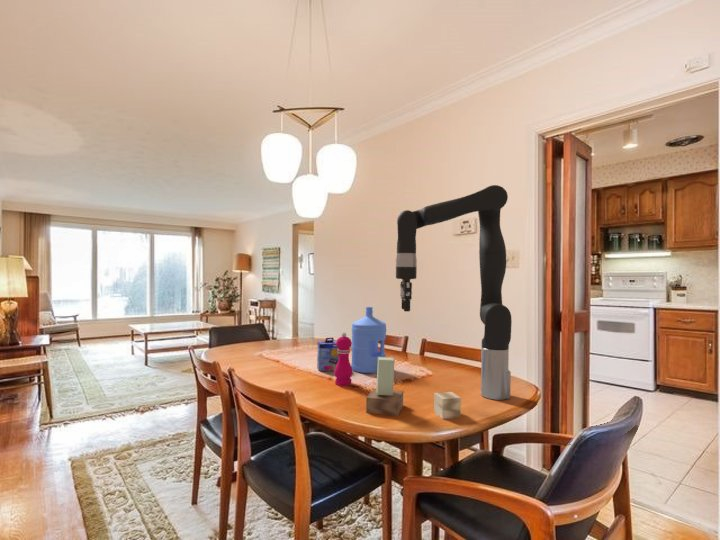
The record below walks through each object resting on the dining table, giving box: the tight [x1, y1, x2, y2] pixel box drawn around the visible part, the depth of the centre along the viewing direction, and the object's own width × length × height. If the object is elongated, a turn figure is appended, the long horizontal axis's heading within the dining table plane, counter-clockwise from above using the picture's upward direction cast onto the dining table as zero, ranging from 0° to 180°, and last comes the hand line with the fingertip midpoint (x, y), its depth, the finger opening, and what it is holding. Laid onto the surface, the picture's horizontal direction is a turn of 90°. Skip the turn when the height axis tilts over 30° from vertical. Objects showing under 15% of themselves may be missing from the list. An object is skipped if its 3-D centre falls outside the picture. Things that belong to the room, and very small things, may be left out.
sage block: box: [375, 357, 395, 396], centre depth 124 cm, size 5×5×11 cm
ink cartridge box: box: [316, 337, 339, 372], centre depth 172 cm, size 10×6×14 cm, turn 107°
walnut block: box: [365, 387, 404, 417], centre depth 123 cm, size 10×10×5 cm
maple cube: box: [433, 391, 462, 420], centre depth 119 cm, size 6×6×6 cm
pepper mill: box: [333, 332, 354, 387], centre depth 150 cm, size 7×7×20 cm
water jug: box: [350, 306, 387, 374], centre depth 173 cm, size 16×16×28 cm
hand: (405, 310), depth 140 cm, fingers open, 8 cm apart
